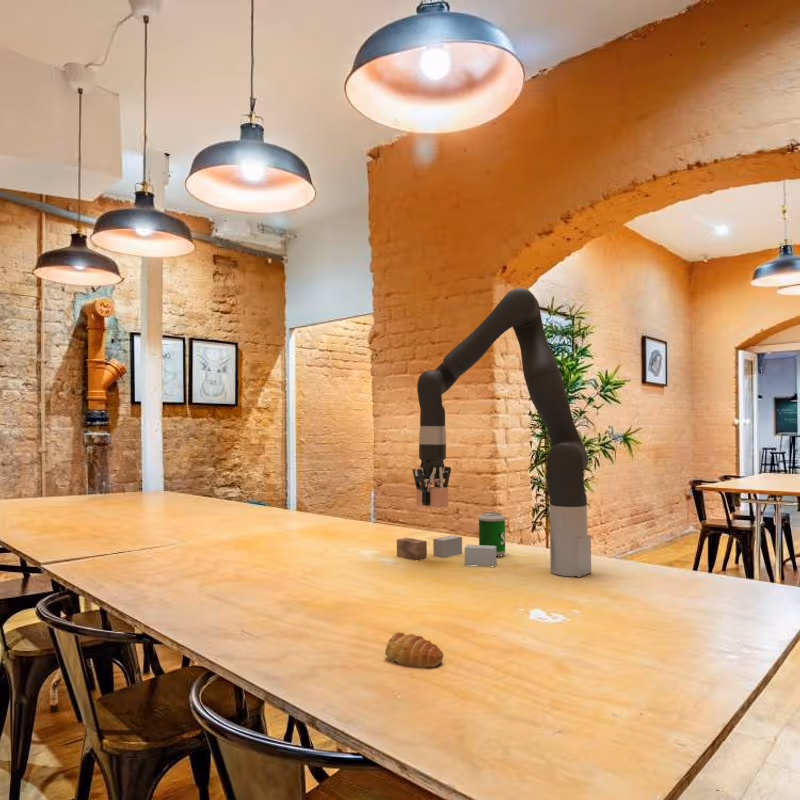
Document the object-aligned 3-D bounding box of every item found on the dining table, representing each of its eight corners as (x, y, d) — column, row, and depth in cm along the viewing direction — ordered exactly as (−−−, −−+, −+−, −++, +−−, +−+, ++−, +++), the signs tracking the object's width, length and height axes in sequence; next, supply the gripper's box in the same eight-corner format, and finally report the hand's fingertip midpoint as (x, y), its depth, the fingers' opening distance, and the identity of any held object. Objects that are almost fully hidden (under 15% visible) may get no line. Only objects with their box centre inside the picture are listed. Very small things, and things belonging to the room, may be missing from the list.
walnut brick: (426, 558, 179) (426, 541, 179) (417, 561, 176) (417, 543, 176) (406, 554, 184) (406, 537, 185) (396, 557, 182) (396, 539, 182)
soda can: (497, 559, 177) (497, 516, 178) (474, 555, 182) (473, 514, 182) (510, 554, 183) (509, 513, 184) (487, 551, 188) (486, 511, 188)
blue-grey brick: (496, 564, 171) (496, 545, 171) (494, 567, 167) (494, 548, 168) (467, 562, 173) (467, 544, 174) (464, 566, 170) (464, 547, 170)
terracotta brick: (448, 506, 174) (448, 488, 174) (439, 507, 171) (439, 489, 171) (425, 503, 179) (425, 485, 179) (416, 505, 176) (416, 487, 176)
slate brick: (451, 552, 188) (451, 535, 188) (462, 554, 185) (461, 536, 185) (433, 556, 182) (433, 538, 183) (443, 558, 180) (443, 540, 180)
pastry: (451, 660, 103) (451, 636, 103) (430, 674, 97) (429, 649, 97) (403, 649, 108) (403, 626, 108) (380, 662, 102) (380, 638, 102)
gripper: (425, 443, 168) (424, 508, 167) (459, 442, 178) (458, 503, 177) (405, 442, 173) (404, 505, 172) (439, 441, 183) (438, 501, 182)
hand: (432, 504), depth 175 cm, fingers closed on terracotta brick, 4 cm apart
